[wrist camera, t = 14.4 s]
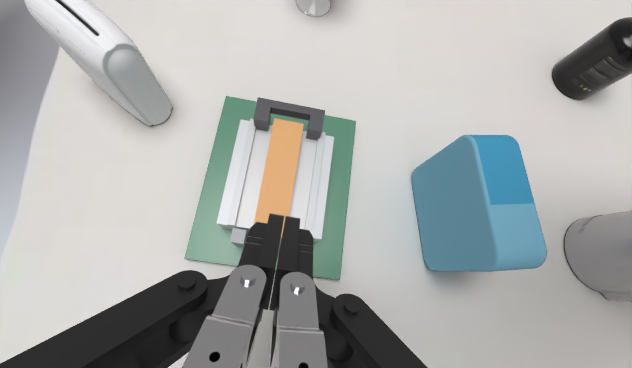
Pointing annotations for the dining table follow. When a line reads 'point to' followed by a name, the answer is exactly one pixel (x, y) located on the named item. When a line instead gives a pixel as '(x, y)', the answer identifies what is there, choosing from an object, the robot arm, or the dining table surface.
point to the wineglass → (314, 7)
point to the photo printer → (104, 55)
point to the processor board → (217, 178)
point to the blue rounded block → (477, 207)
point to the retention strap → (279, 171)
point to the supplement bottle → (597, 62)
